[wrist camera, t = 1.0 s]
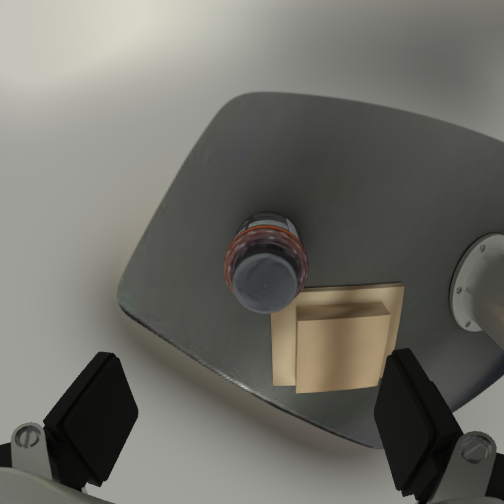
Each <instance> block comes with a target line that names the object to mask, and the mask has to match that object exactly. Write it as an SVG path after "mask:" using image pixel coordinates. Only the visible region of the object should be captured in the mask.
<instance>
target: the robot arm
mask: <svg viewBox="0 0 504 504" xmlns="http://www.w3.org/2000/svg"><path fill="white" fill-rule="evenodd" d="M449 301H450V309H451V313H452V316H453V317H454V319H455V321H456V322H457V323H458V324H459V325H460V326H461V327H462V328H463V329H465V330H468V331H471V332H477V331H482V330H483V331H484V332H485V333H486V334H487V335H488V336H489V337H490V338H491V339H492V340H493V341H494V342H495V343H496V344H497V345H498V346H499V347H500V348H501V349H502V350H503V351H504V235H503V234H499V233H491V234H488V235H485V236H483V237H482V238H480V239H478V240H477V241H476V242H475V243H474V244H472V245H471V247H470V248H469V249H468V250H467V251H466V252H465V254H464V256H463V257H462V259H461V260H460V262H459V264H458V266H457V268H456V270H455V273H454V276H453V279H452V283H451V288H450V297H449ZM137 418H138V407H137V405H136V403H135V400H134V398H133V395H132V392H131V390H130V387H129V384H128V382H127V379H126V377H125V373H124V371H123V368H122V365H121V362H120V359H119V358H117V357H116V356H115V354H114V353H107V352H98V353H97V354H96V355H95V357H94V358H93V359H92V360H91V361H90V363H89V364H88V365H87V366H86V368H85V369H84V370H83V371H82V372H81V373H80V375H79V376H78V377H77V378H76V380H75V381H74V382H73V383H72V385H71V386H70V387H69V388H68V389H67V391H66V392H65V393H64V395H63V396H62V397H61V398H60V399H59V401H58V402H57V403H56V405H55V406H54V407H53V408H52V410H51V411H50V412H49V414H48V415H47V416H46V418H45V419H44V420H43V422H44V424H45V426H44V427H43V428H42V427H41V426H40V425H39V424H37V423H32V422H31V423H25V424H22V425H20V426H19V427H17V429H15V430H14V432H13V434H12V437H11V442H10V443H6V444H2V445H0V504H114V503H111V502H108V501H104V500H102V499H99V498H96V497H93V496H90V495H88V494H87V491H86V488H85V484H86V483H87V482H88V483H89V484H92V485H95V486H98V487H101V485H102V483H103V481H106V480H107V479H108V477H109V475H110V473H111V471H112V469H113V467H114V465H115V463H116V461H117V459H118V457H119V454H120V452H121V450H122V448H123V446H124V444H125V442H126V440H127V438H128V436H129V434H130V432H131V430H132V428H133V426H134V424H135V422H136V420H137ZM374 418H375V421H376V424H377V428H378V431H379V434H380V437H381V440H382V443H383V446H384V450H385V453H386V456H387V460H388V463H389V466H390V470H391V473H392V477H393V480H394V484H395V487H396V489H397V490H398V491H400V490H401V491H402V495H403V497H405V496H408V495H412V494H414V496H415V499H416V500H417V502H416V504H504V455H503V454H500V453H497V452H496V448H497V447H496V444H495V442H494V440H493V439H492V438H491V437H490V436H489V435H487V434H486V433H483V432H479V431H472V432H468V433H466V434H463V432H462V430H461V428H460V426H459V424H458V423H457V421H456V419H455V417H454V416H453V414H452V412H451V410H450V409H449V407H448V405H447V404H446V402H445V400H444V399H443V397H442V395H441V394H440V392H439V390H438V389H437V387H436V385H435V384H434V383H433V382H432V381H430V380H429V378H428V377H427V375H426V373H425V372H424V370H423V368H422V367H421V365H420V364H419V362H418V361H417V359H416V357H415V356H414V354H413V353H412V351H411V350H410V349H409V348H405V349H398V350H393V351H392V353H391V355H388V356H387V359H386V363H385V368H384V372H383V377H382V381H381V385H380V389H379V393H378V397H377V401H376V405H375V408H374Z"/></svg>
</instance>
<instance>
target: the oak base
mask: <svg viewBox="0 0 504 504" xmlns="http://www.w3.org/2000/svg"><path fill="white" fill-rule="evenodd" d="M404 287H405V286H404V285H403V284H402V283H390V284H375V285H359V286H342V287H322V288H303V289H302V291H301V292H300V293H299V294H298V296H297V297H296V298H294V299H293V300H292V302H291V303H290V304H289V305H288V306H287V307H285V308H284V309H282V310H281V311H278V312H275V313H271V330H272V360H273V386H288V385H296V393H308V392H323V391H335V390H346V389H355V388H364V387H372V386H377V385H378V381H379V378H382V377H383V372H384V368H385V363H386V359H387V356H388V355H391V353H392V351H393V350H394V347H395V342H396V337H397V332H398V326H399V320H400V314H401V308H402V301H403V294H404Z"/></svg>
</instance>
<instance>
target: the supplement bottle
mask: <svg viewBox="0 0 504 504" xmlns="http://www.w3.org/2000/svg"><path fill="white" fill-rule="evenodd" d="M308 270H309V269H308V260H307V256H306V252H305V250H304V247H303V245H302V242H301V239H300V236H299V234H298V231H297V229H296V228H295V226H294V225H293V224H292V222H291V221H290V220H289V219H287V218H286V217H285V216H283V215H281V214H278V213H275V212H261V213H257V214H255V215H253V216H251V217H250V218H248V219H247V220H246V221H245V222H244V223H243V224H242V225H241V227H240V228H239V230H238V232H237V234H236V235H235V237H234V239H233V241H232V243H231V244H230V246H229V248H228V251H227V253H226V256H225V261H224V275H225V279H226V282H227V284H228V286H229V288H230V290H231V291H232V292H233V294H234V295H235V297H236V298H237V300H238V301H239V302H240V303H241V304H242V305H243V306H244V307H245V308H247V309H248V310H250V311H253V312H256V313H259V314H271V313H275V312H278V311H281V310H282V309H284V308H285V307H287V306H288V305H289V304H290V303H291V302H292V300H293V299H294V298H296V297H297V296H298V294H299V293H300V292H301V291H302V289H303V288H304V285H305V283H306V280H307V276H308Z"/></svg>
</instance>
